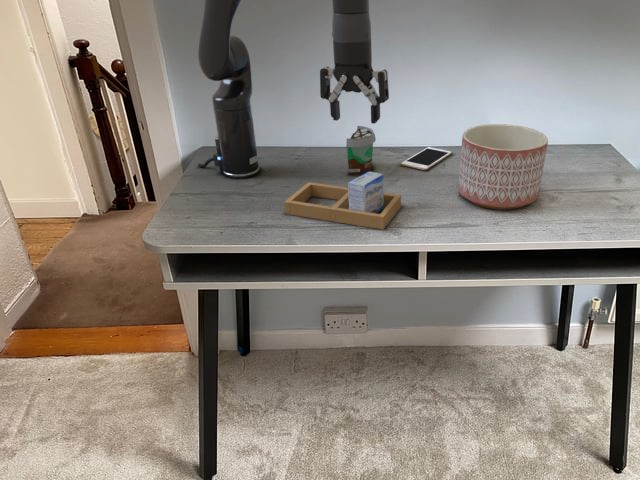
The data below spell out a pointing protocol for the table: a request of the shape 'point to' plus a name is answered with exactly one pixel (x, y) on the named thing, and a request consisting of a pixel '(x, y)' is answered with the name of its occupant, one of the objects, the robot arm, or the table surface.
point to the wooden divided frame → (339, 206)
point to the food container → (360, 150)
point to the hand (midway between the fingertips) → (355, 121)
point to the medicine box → (367, 193)
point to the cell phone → (426, 158)
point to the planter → (501, 165)
